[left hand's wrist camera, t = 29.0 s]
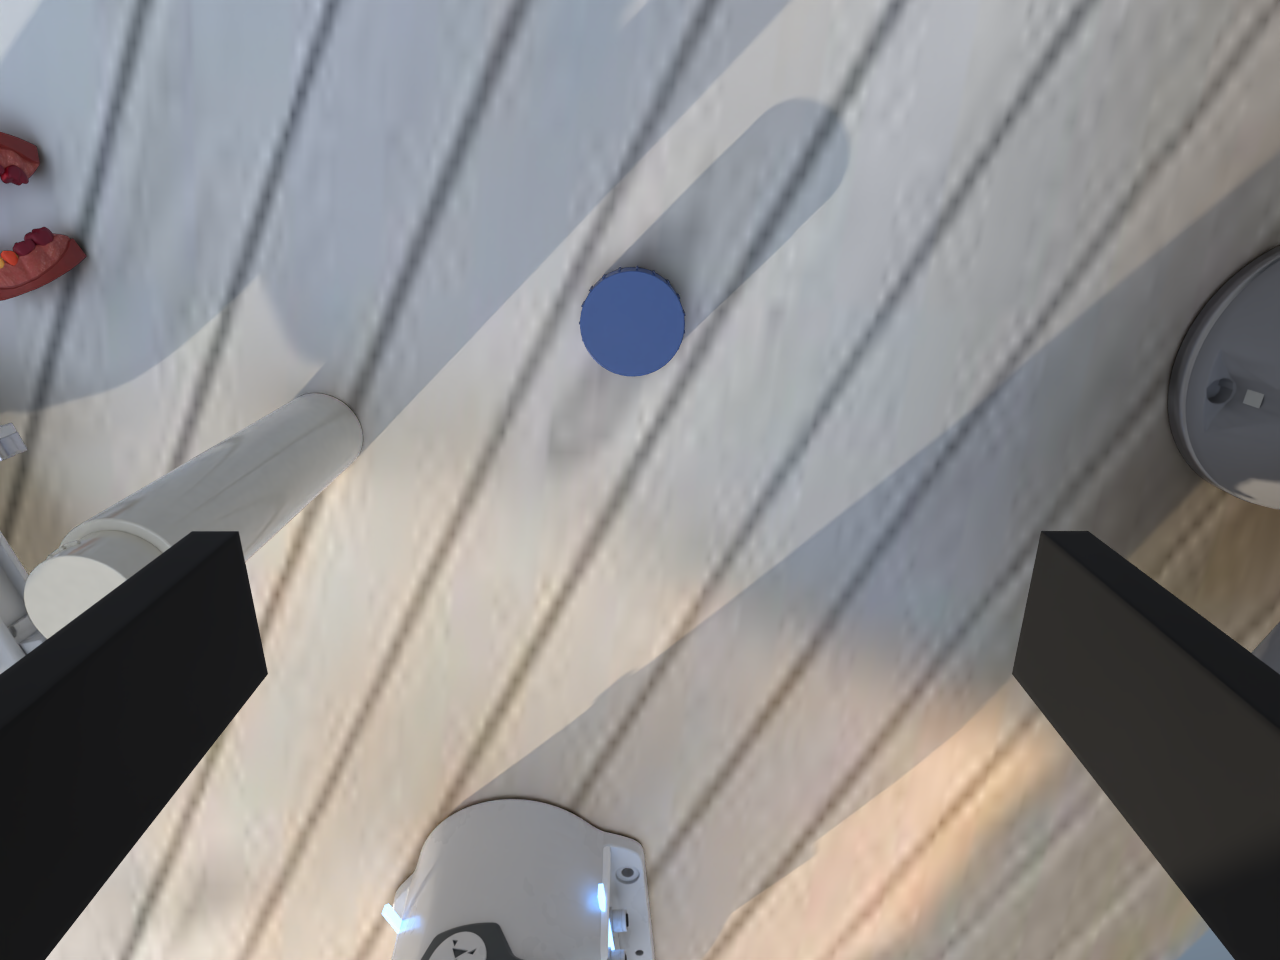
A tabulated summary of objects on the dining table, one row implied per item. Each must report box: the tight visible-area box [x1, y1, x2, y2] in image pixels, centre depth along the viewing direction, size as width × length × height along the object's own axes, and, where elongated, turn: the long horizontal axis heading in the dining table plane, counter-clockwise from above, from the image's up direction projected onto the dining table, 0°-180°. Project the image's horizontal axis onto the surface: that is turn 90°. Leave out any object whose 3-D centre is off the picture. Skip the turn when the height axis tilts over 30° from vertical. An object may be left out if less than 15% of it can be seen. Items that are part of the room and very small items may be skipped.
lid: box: [579, 266, 685, 376], centre depth 40 cm, size 6×6×2 cm
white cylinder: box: [24, 393, 363, 639], centre depth 34 cm, size 5×5×20 cm
